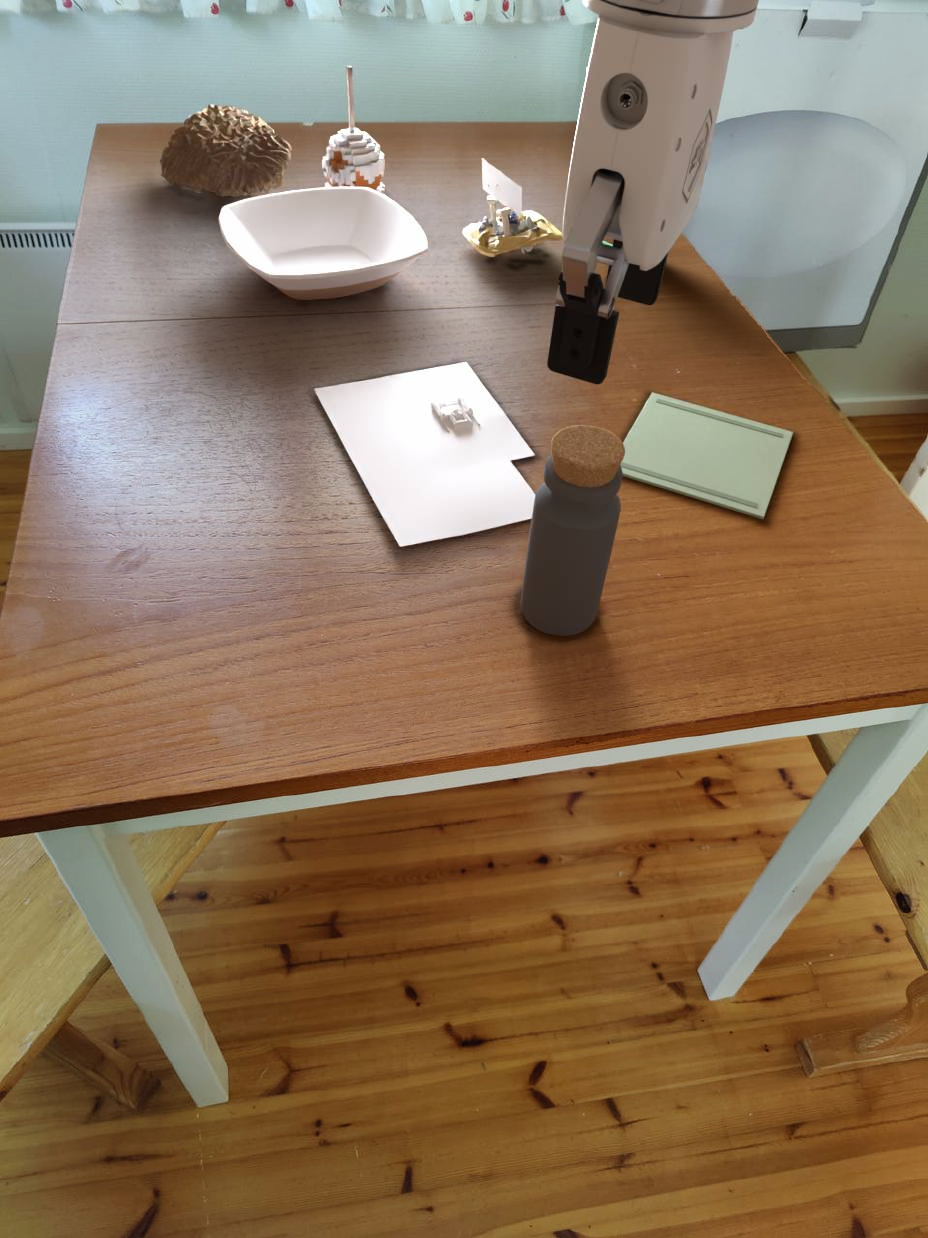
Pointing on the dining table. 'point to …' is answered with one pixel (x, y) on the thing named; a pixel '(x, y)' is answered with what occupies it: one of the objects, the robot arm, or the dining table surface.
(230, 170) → the coral
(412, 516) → the paper
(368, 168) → the decorative ornament
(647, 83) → the robot arm
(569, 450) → the bottle
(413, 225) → the bowl
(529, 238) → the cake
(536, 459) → the dining table surface
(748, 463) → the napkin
